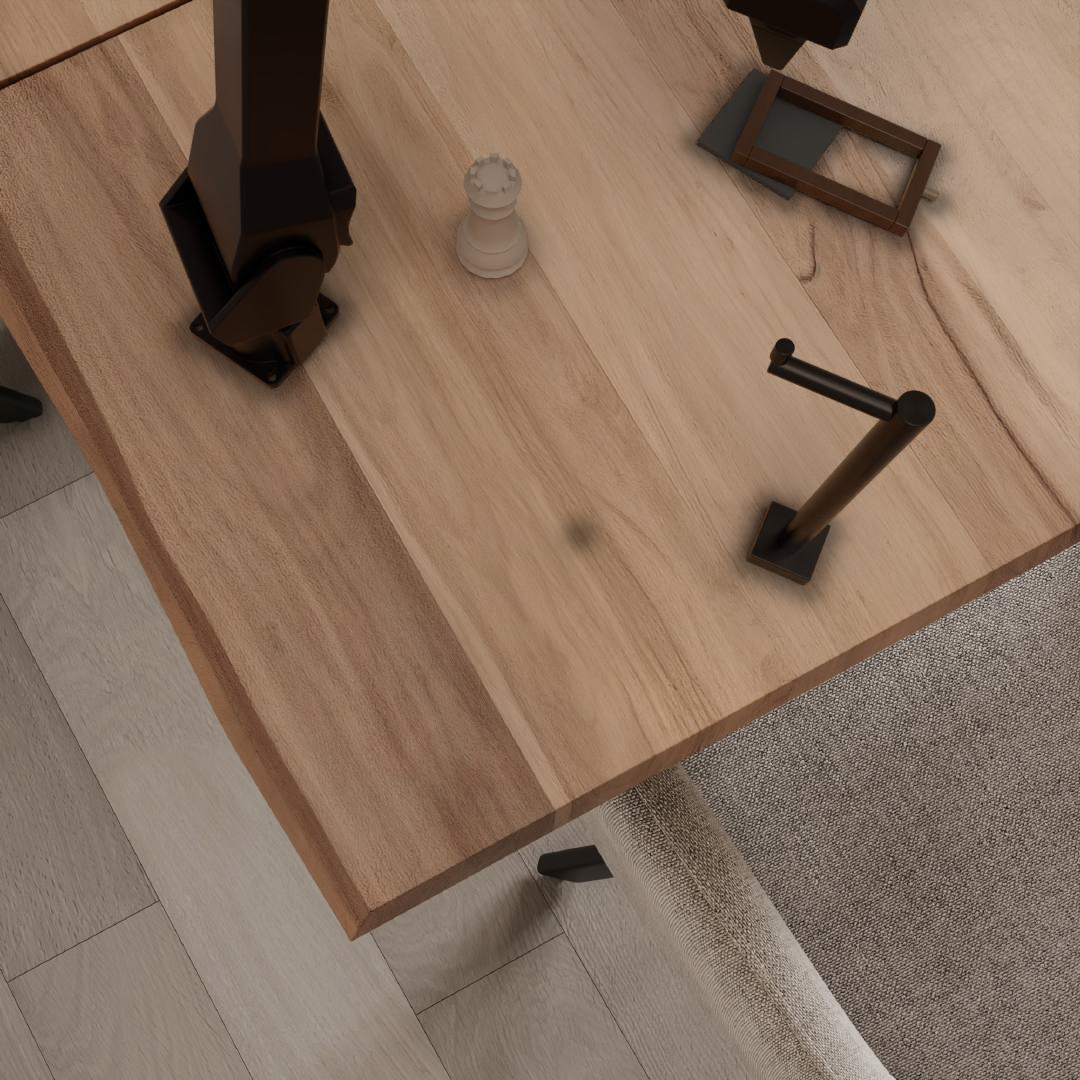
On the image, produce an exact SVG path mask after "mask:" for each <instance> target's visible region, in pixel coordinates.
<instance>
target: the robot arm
mask: <svg viewBox="0 0 1080 1080" xmlns="http://www.w3.org/2000/svg"><path fill="white" fill-rule="evenodd" d="M722 1H723V4H724V6H725V7H726V9H727V10H729V11H733V12H735V13H737V14H740V15H741V16H745V17H748V21H749V23H750V26H751V29H752V33H753V36H754V39H755V43H756V45H757V50H758V53H759V56H760V59H761V63H762V64H763V65H765V66H767V67H769V68H771V69H773V70H776V71H782V70H784V69H785V67H786V66H787V65H788V64H789V63H790V62H791V60H792V59H793V58H794V57H795V55H796V54H797V53H798V52H799V50H800V49H801V48H802V47H803V46H804V45H805V44H806V43H807V41H808V42H809V43H810V42H811V43H812V44H815V45H818V46H820V47H823V48H826V49H828V50H831V51H834V50H838V49H841V48H845V47H847V46H849V44H850V41H851V39H852V37H853V35H854V32H855V30H856V29H857V28H856V27H857V25H858V24H859V21H860V19H861V17H862V15H863V12H864V11H865V7H866V5H867V3H868V1H869V0H722ZM329 10H330V0H212V23H213V24H212V26H213V53H214V83H215V84H214V85H215V86H214V87H215V99H214V105H212V106H211V108H209V109H208V110H207V111H206V112H204V113H203V114H202V115H201V116H199V118H198V119H197V121H196V122H195V124H194V128H193V133H192V134H193V135H192V140H191V145H190V151H189V156H188V160H187V161H188V162H187V165H186V167H185V168H184V169H183V171H182V172H181V173H180V175H179V176H178V177H177V178H176V180H175V181H174V182H173V183H172V185H171V186H170V188H169V189H168V190H167V191H166V193H165V194H164V196H163V197H162V198H161V199H160V200H159V202H158V206H159V209H160V212H161V214H162V217H163V219H164V222H165V224H166V227H167V229H168V232H169V235H170V236H171V239H172V242H173V244H174V247H175V250H176V252H177V254H178V257H179V259H180V262H181V264H182V267H183V269H184V272H185V274H186V277H187V279H188V282H189V285H190V287H191V289H192V292H193V294H194V297H195V299H196V302H197V305H198V307H199V309H200V312H199V314H198V315H197V316H196V317H195V318H194V319H193V320H192V321H191V323H190V324H189V330H190V333H191V334H192V335H193V337H195V338H196V339H197V340H199V341H201V342H202V343H203V344H204V345H207V346H208V347H209V348H211V349H212V350H214V351H215V352H217V353H218V354H219V355H221V356H223V357H224V358H226V359H227V360H228V361H229V362H231V363H232V364H234V365H236V366H237V367H238V368H240V369H241V370H243V371H244V372H245V373H247V374H249V375H250V376H252V377H253V378H255V379H256V380H257V381H259V382H260V383H261V384H263V385H265V386H266V387H268V388H270V389H275V388H278V387H280V385H281V384H283V382H284V381H285V380H286V378H287V377H288V376H289V375H290V374H291V372H292V371H293V370H294V369H295V368H296V367H297V366H302V365H303V364H304V362H305V361H306V360H307V359H308V358H309V357H310V356H311V355H312V353H313V352H314V351H315V350H316V348H317V347H318V346H319V345H320V344H321V343H322V341H323V340H324V339H325V338H326V337H327V330H328V329H329V328H330V327H331V326H332V324H334V322H335V321H336V320H337V319H338V318H339V315H340V307H339V305H338V304H337V303H336V302H334V301H333V300H332V299H330V297H327V296H326V295H324V294H323V293H321V292H320V291H321V288H322V285H323V283H324V280H325V276H326V274H329V273H330V272H331V271H332V270H333V268H334V266H335V265H336V263H337V261H338V259H339V256H340V253H341V246H345V247H350V246H352V245H353V244H354V241H353V239H352V235H351V233H350V227H349V226H350V223H351V219H352V217H353V215H354V212H355V209H356V206H357V187H356V185H355V183H354V180H353V179H352V176H351V174H350V172H349V170H348V167H347V165H346V163H345V161H344V158H343V156H342V154H341V152H340V150H339V148H338V145H337V143H336V141H335V139H334V137H333V133H332V132H331V129H330V128H329V125H328V123H327V121H326V119H325V117H324V114H323V112H322V109H321V101H322V88H323V80H324V79H323V78H324V66H325V53H326V43H327V32H328V22H329V21H328V19H329ZM331 309H332V310H333V311H332V312H329V310H331ZM198 327H202V328H201V329H200V330H197V328H198ZM272 377H275V379H274V380H272V381H271V380H270V378H272Z"/></svg>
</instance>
